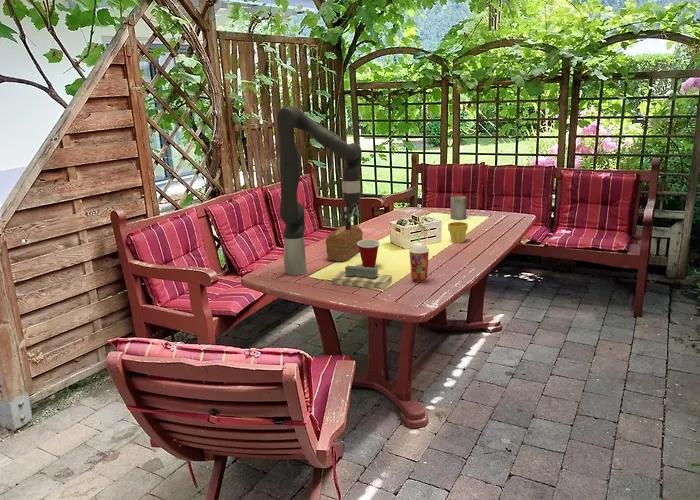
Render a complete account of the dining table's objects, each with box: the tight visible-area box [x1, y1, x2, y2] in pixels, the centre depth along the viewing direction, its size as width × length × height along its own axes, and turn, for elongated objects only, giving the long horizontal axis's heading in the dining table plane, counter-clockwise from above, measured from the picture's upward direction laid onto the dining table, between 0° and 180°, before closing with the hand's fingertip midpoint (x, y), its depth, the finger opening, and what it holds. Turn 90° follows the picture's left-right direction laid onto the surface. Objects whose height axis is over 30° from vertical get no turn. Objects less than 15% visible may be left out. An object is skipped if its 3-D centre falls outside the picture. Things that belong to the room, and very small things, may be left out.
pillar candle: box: [450, 195, 467, 221], centre depth 357 cm, size 10×10×15 cm
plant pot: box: [447, 221, 469, 244], centre depth 305 cm, size 10×10×10 cm
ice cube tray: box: [331, 270, 393, 290], centre depth 247 cm, size 24×10×3 cm, turn 68°
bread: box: [325, 224, 364, 262], centre depth 289 cm, size 12×28×14 cm, turn 158°
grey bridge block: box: [344, 265, 379, 279], centre depth 247 cm, size 14×3×7 cm, turn 68°
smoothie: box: [409, 235, 430, 283], centre depth 245 cm, size 8×8×20 cm
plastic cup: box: [357, 239, 381, 268], centre depth 268 cm, size 11×11×12 cm
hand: (352, 227), depth 249 cm, fingers open, 8 cm apart
